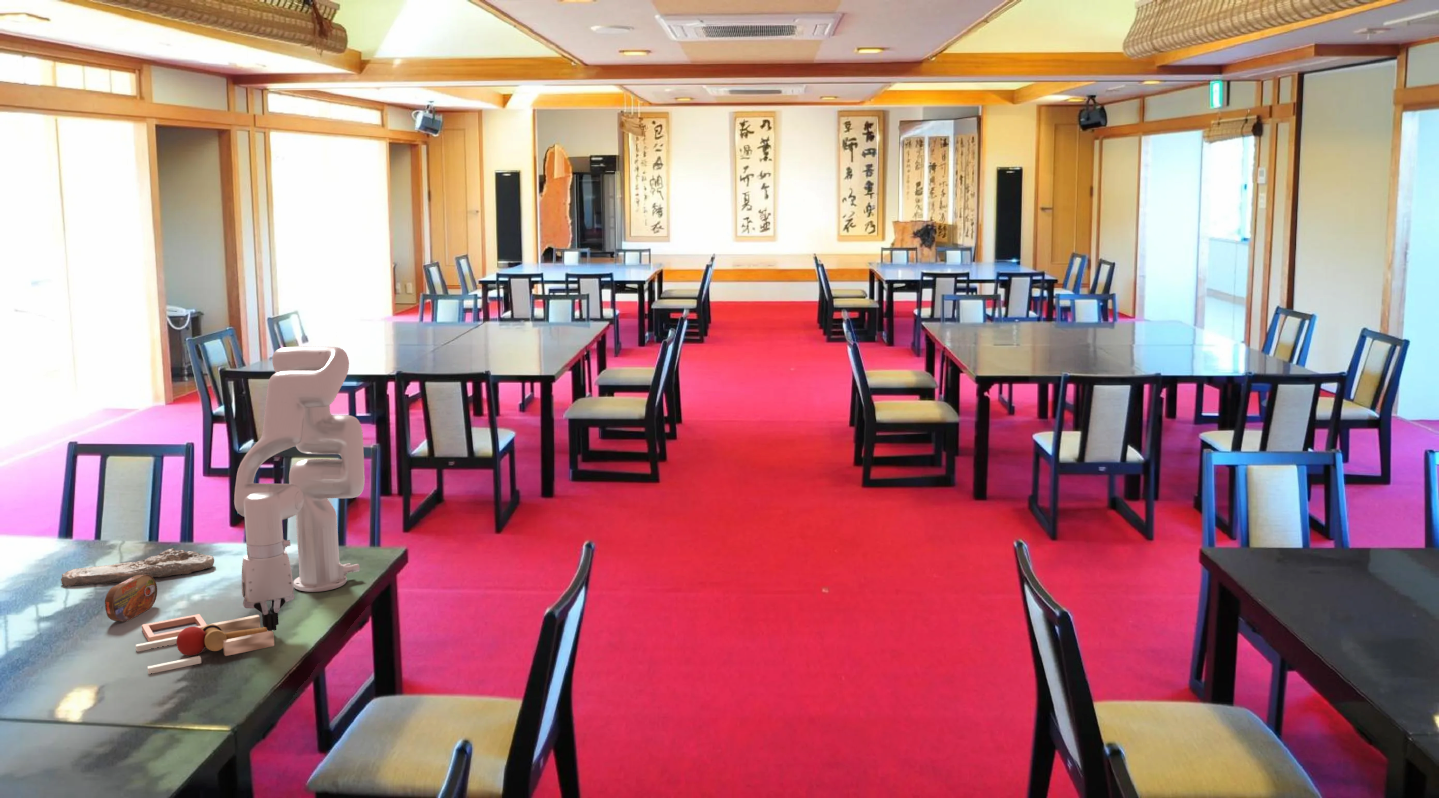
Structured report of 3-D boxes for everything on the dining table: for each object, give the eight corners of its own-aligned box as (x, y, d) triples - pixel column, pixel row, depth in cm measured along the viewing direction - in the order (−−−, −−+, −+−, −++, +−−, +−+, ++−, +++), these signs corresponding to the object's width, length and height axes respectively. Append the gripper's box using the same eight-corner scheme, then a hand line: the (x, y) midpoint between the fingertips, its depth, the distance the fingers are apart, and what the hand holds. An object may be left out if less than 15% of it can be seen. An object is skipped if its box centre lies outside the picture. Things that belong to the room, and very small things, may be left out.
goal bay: (186, 639, 262) (185, 634, 261) (201, 663, 249) (200, 657, 249) (135, 649, 256) (135, 644, 256) (148, 674, 244) (148, 668, 244)
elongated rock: (64, 583, 302) (61, 598, 293) (61, 564, 301) (57, 578, 292) (214, 559, 315) (215, 572, 306) (212, 540, 314) (212, 553, 305)
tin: (116, 627, 269) (112, 591, 268) (103, 626, 270) (100, 590, 268) (159, 604, 284) (156, 570, 282) (148, 603, 284) (145, 569, 283)
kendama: (260, 639, 266) (172, 645, 256) (263, 613, 264) (175, 618, 254) (268, 656, 260) (178, 663, 250) (271, 630, 258) (181, 636, 248)
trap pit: (199, 620, 273) (199, 613, 273) (208, 632, 266) (208, 626, 266) (142, 631, 267) (141, 624, 266) (149, 644, 259) (149, 637, 259)
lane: (258, 627, 269) (258, 614, 269) (274, 645, 259) (273, 632, 258) (211, 636, 264) (210, 623, 263) (225, 655, 253) (224, 642, 252)
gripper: (295, 539, 268) (300, 617, 271) (225, 550, 260) (231, 630, 263) (305, 547, 262) (310, 627, 265) (233, 559, 254) (239, 641, 257)
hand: (270, 628), depth 264 cm, fingers closed
